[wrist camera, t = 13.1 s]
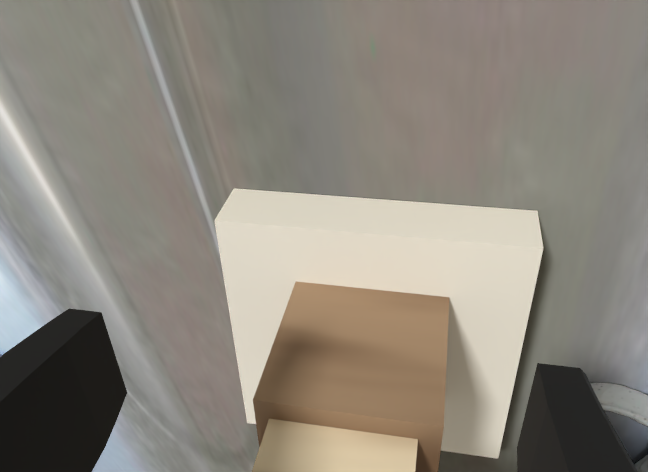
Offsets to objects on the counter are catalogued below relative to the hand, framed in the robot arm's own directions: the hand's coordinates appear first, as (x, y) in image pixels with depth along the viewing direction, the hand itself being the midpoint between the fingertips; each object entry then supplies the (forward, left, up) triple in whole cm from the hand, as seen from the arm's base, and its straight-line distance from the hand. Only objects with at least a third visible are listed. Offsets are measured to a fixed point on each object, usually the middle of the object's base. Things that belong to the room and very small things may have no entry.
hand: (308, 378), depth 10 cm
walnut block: (-8, 0, -8) cm, 11 cm away
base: (-8, 0, -10) cm, 13 cm away
